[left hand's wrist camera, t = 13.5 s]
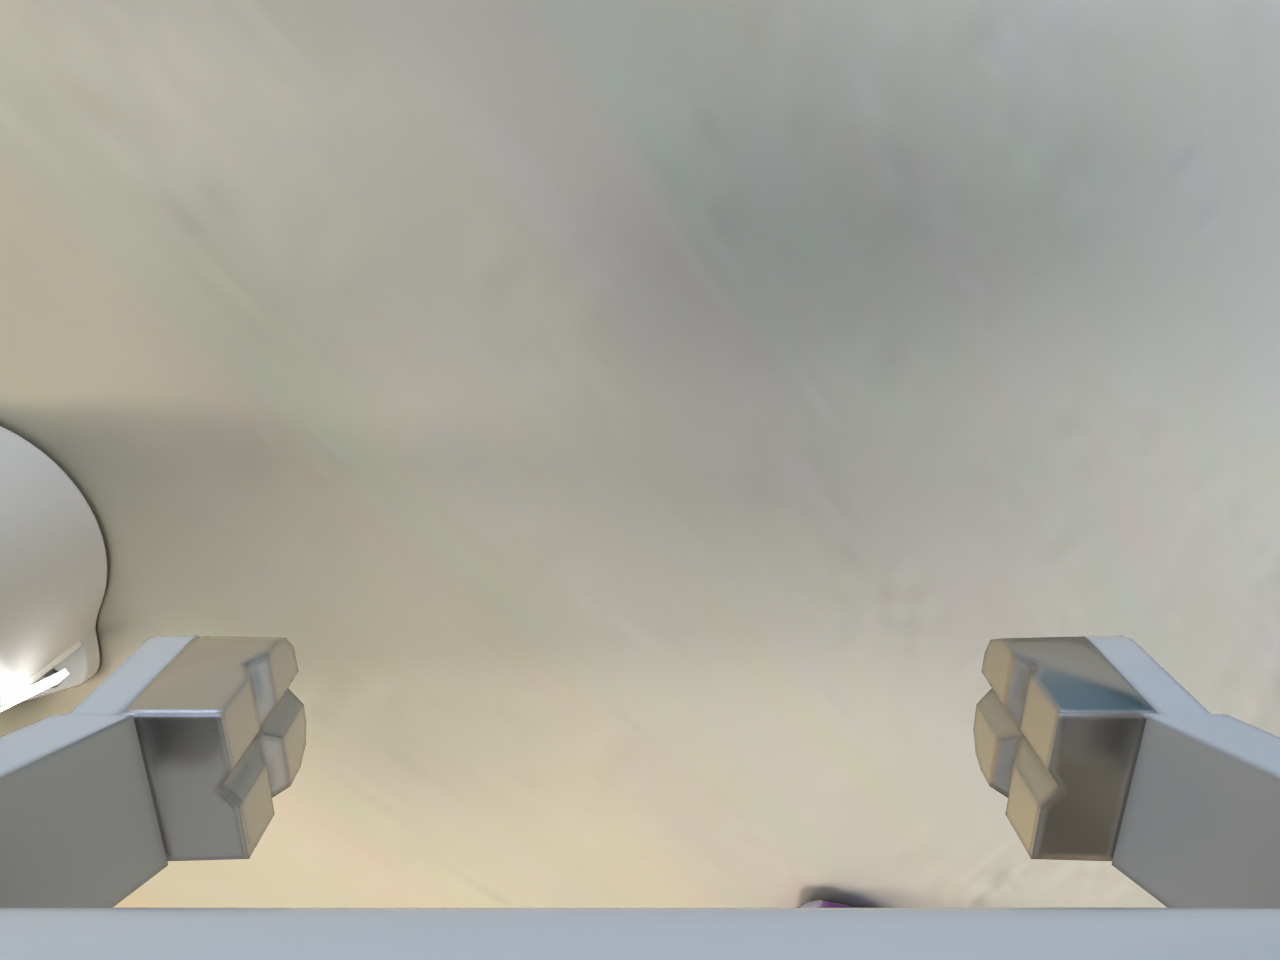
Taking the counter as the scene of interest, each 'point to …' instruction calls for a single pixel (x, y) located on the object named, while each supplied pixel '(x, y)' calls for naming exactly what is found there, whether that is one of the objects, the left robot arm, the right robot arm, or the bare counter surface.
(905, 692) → the counter surface
